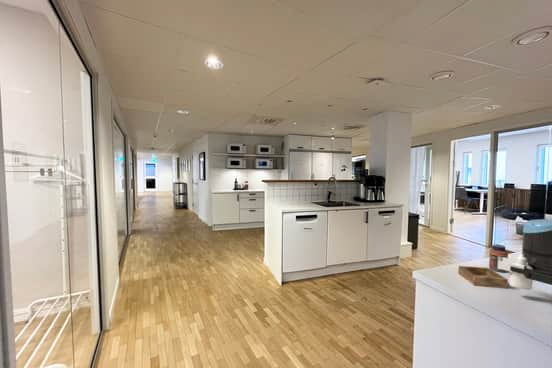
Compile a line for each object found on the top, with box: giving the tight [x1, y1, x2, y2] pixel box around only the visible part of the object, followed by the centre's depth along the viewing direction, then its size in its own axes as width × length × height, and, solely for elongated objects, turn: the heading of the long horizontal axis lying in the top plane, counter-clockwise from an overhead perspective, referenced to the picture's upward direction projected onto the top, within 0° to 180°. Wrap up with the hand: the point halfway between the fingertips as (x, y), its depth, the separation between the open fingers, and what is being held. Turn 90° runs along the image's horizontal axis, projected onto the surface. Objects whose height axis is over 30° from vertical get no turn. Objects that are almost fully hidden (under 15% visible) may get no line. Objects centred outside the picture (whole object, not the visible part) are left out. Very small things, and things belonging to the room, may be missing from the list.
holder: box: [457, 265, 509, 289], centre depth 95 cm, size 11×11×4 cm
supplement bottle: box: [488, 243, 509, 273], centre depth 105 cm, size 6×6×11 cm
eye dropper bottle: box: [508, 253, 534, 290], centre depth 82 cm, size 4×6×12 cm
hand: (500, 262), depth 86 cm, fingers closed on eye dropper bottle, 4 cm apart
